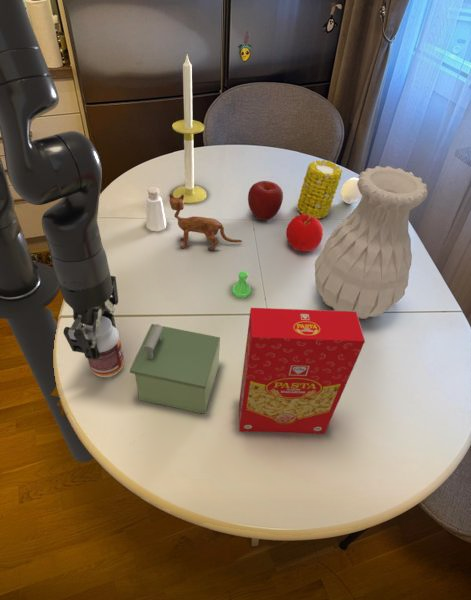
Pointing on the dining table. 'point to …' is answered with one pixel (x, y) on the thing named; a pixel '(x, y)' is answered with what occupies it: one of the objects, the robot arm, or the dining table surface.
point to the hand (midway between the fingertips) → (101, 342)
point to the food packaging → (296, 368)
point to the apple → (265, 199)
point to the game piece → (242, 286)
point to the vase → (371, 245)
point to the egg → (350, 191)
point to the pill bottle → (107, 350)
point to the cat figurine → (197, 224)
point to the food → (319, 188)
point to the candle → (188, 141)
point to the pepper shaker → (155, 211)
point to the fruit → (304, 232)
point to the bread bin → (177, 391)
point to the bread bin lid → (176, 356)
